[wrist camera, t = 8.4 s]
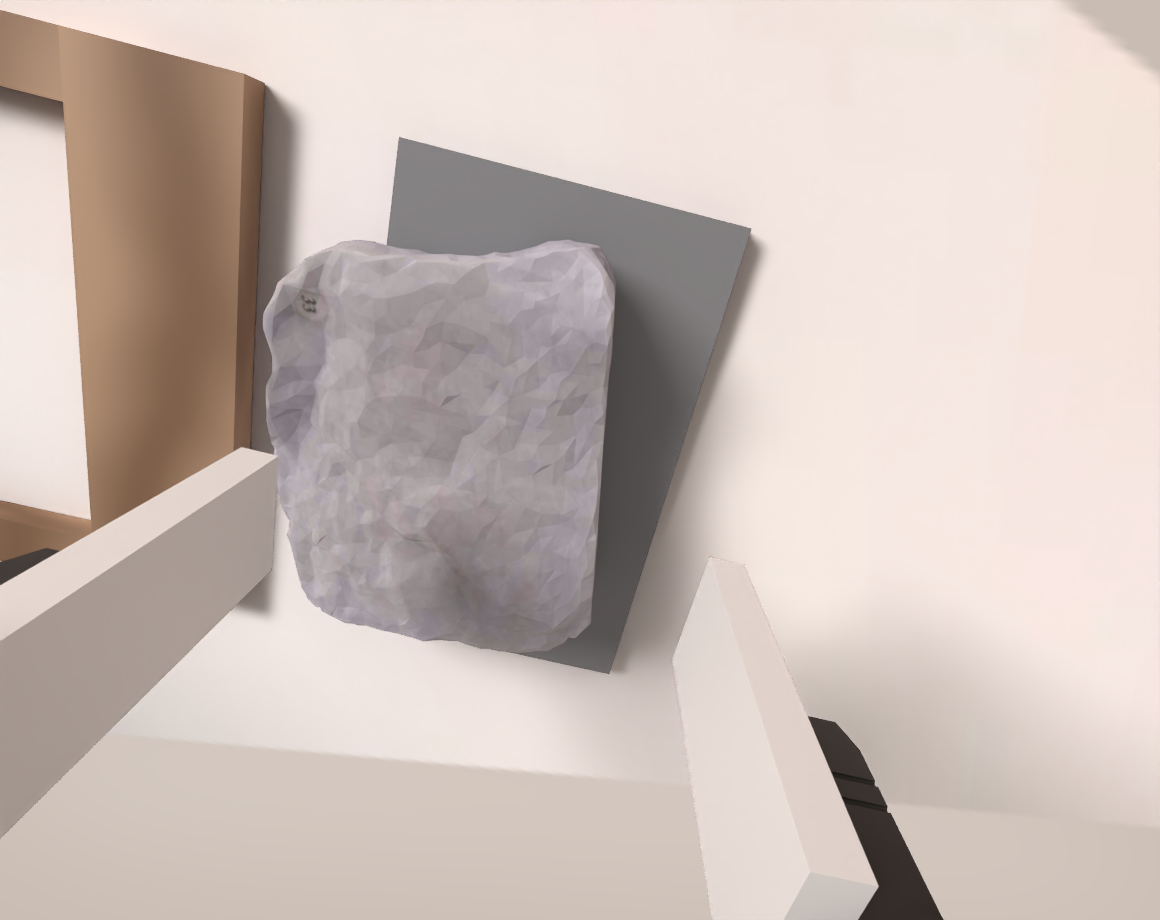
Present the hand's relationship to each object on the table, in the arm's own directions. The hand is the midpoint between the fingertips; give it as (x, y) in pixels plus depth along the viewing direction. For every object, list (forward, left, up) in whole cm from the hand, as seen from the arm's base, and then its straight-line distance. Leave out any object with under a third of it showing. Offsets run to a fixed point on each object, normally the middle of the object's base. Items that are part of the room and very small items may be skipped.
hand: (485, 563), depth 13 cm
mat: (0, 0, -8) cm, 8 cm away
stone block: (-2, 0, -7) cm, 8 cm away
